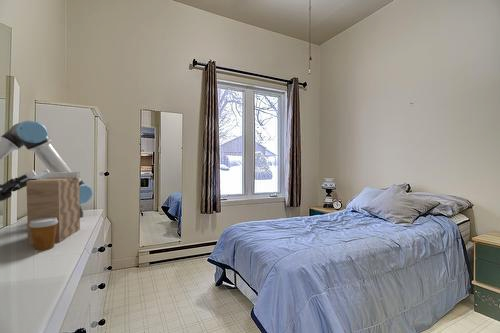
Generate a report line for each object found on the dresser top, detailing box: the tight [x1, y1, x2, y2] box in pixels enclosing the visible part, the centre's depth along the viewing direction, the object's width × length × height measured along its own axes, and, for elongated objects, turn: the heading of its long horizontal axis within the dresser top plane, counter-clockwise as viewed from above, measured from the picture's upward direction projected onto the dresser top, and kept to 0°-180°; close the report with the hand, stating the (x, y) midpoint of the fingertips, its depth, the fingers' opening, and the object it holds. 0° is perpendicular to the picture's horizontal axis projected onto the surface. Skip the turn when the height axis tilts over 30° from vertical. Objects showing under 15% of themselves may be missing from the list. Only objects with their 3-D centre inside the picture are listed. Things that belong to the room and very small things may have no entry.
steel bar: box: [29, 171, 81, 179], centre depth 125 cm, size 4×22×3 cm, turn 104°
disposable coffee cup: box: [29, 218, 58, 252], centre depth 104 cm, size 10×10×12 cm
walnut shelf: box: [26, 178, 81, 246], centre depth 120 cm, size 22×12×28 cm, turn 14°
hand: (42, 171), depth 124 cm, fingers open, 12 cm apart
